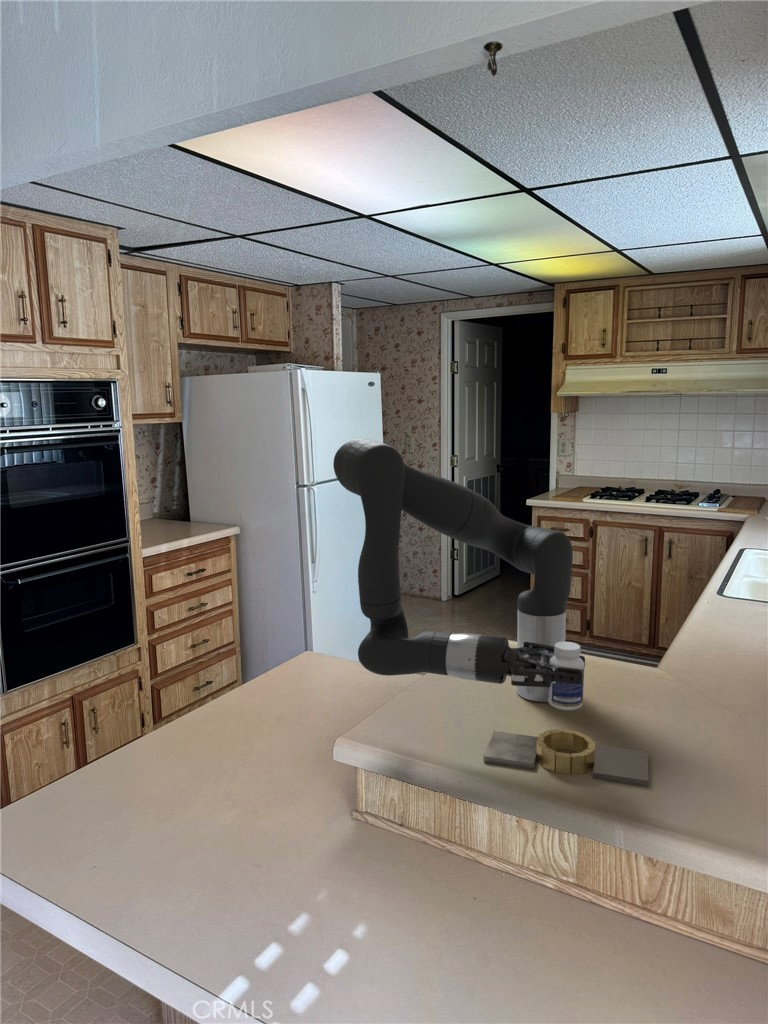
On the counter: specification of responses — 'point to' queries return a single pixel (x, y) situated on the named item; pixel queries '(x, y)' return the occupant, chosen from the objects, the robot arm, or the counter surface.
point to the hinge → (568, 756)
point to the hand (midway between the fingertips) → (583, 669)
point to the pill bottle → (560, 692)
